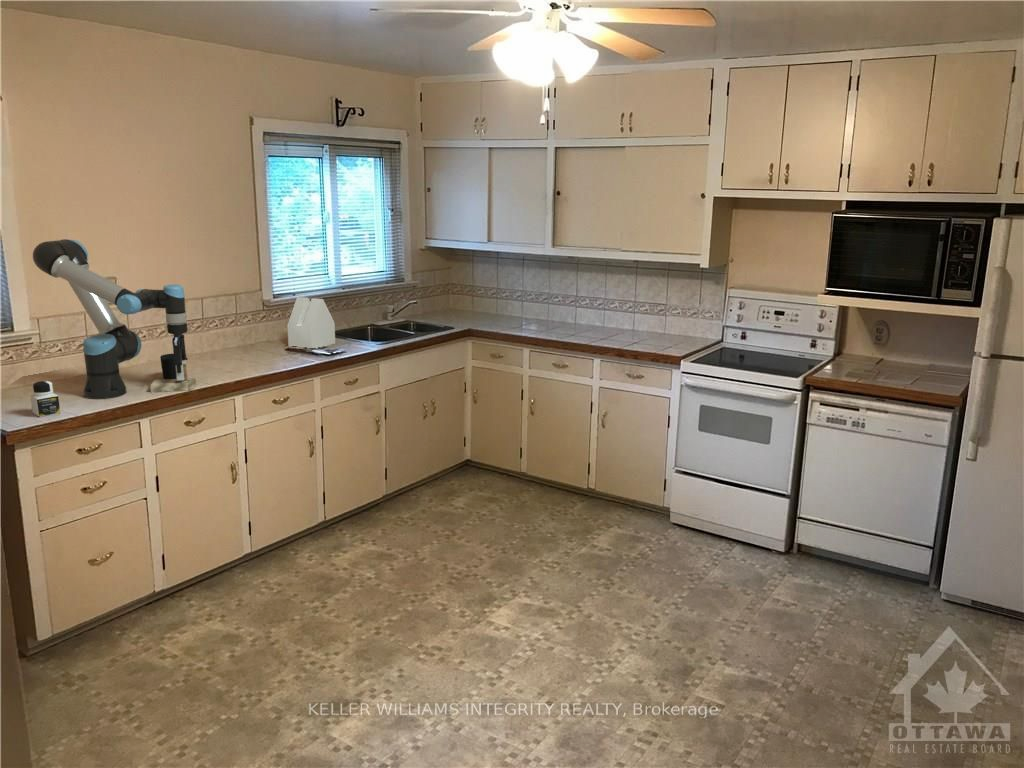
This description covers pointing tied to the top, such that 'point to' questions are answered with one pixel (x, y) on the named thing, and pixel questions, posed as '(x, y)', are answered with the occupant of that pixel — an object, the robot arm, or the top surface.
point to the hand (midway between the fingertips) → (182, 377)
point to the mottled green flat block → (172, 385)
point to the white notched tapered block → (310, 324)
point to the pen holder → (168, 366)
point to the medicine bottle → (44, 399)
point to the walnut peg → (184, 375)
